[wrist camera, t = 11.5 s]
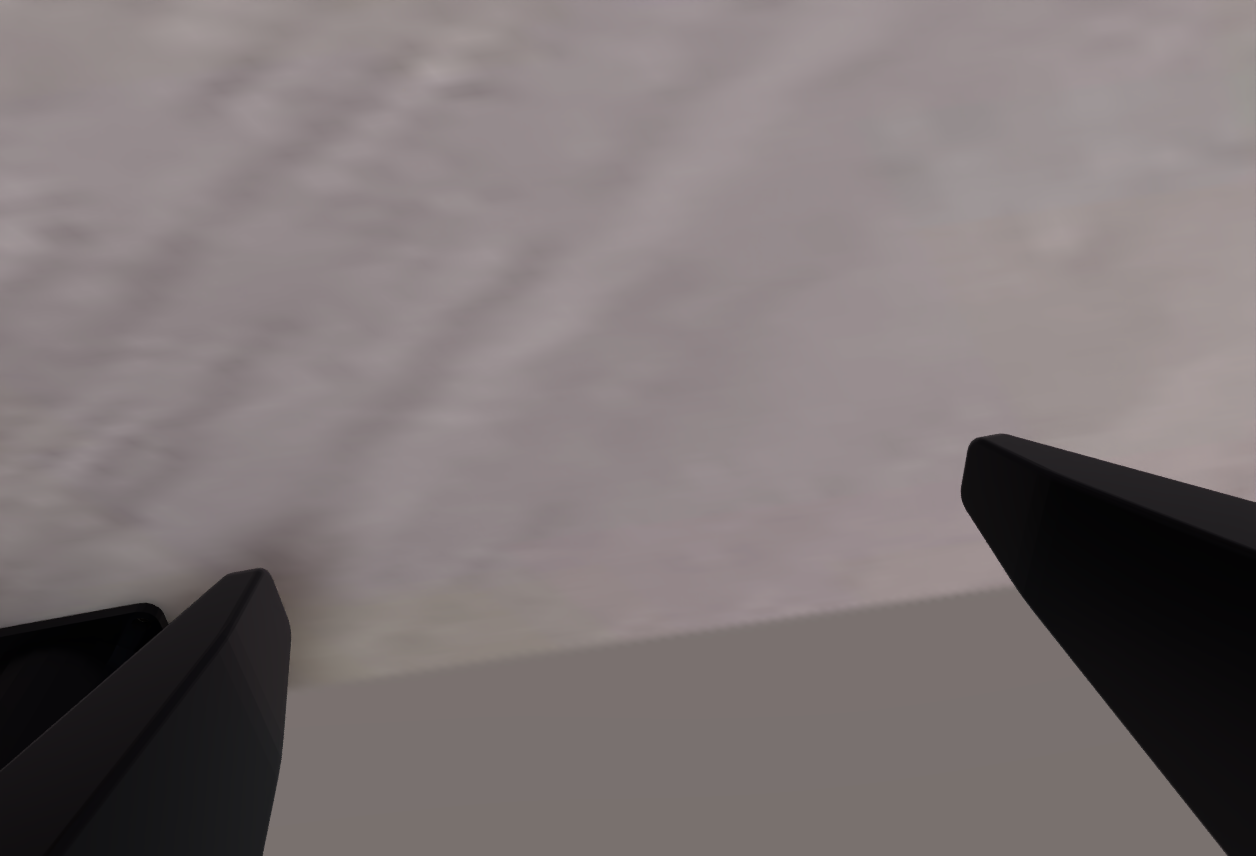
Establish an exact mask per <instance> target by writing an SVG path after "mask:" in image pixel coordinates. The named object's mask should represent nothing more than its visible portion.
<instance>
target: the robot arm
mask: <svg viewBox="0 0 1256 856" xmlns="http://www.w3.org/2000/svg"><path fill="white" fill-rule="evenodd" d="M961 498H962V502H963V505H964V507H965V509H966V511H967V512H968V514H969V515H970V517H971V518H972V520H973V522H974V523H975V525H976V526H977V528H978V529H979V531H980V533H981V534H982V536H983V537H984V539H985V540H986V542H987V543H988V545H989V547H990V548H991V550H992V551H993V553H994V554H995V556H996V557H997V559H998V561H999V562H1000V564H1001V565H1002V567H1003V568H1004V570H1005V572H1006V573H1007V575H1008V576H1009V578H1010V579H1011V581H1012V582H1013V584H1014V585H1015V587H1016V588H1017V590H1018V591H1019V593H1020V594H1021V595H1022V597H1023V598H1024V600H1025V601H1026V602H1027V604H1028V605H1029V606H1030V608H1031V609H1032V610H1033V612H1034V613H1035V614H1036V615H1037V617H1038V618H1039V619H1040V620H1041V622H1042V623H1043V624H1044V626H1045V627H1046V628H1047V629H1048V630H1049V631H1050V633H1051V634H1052V636H1053V637H1054V638H1055V639H1056V641H1057V642H1058V643H1059V644H1060V646H1061V647H1062V648H1063V649H1064V650H1065V652H1066V653H1067V654H1068V656H1069V657H1070V658H1071V659H1072V661H1073V662H1074V663H1075V664H1076V666H1077V667H1078V668H1079V670H1080V671H1081V672H1082V673H1083V675H1084V676H1085V677H1086V678H1087V680H1088V681H1089V682H1090V683H1091V685H1092V686H1093V687H1094V688H1095V690H1096V691H1097V692H1098V693H1099V694H1100V696H1101V697H1102V698H1103V700H1104V701H1105V702H1106V703H1107V705H1108V706H1109V707H1110V709H1111V710H1112V711H1113V712H1114V713H1115V715H1116V716H1117V717H1118V719H1119V720H1120V721H1121V722H1122V724H1123V725H1124V726H1125V727H1126V729H1127V730H1128V731H1129V732H1130V734H1131V735H1132V736H1133V737H1134V739H1135V740H1136V741H1137V742H1138V744H1139V745H1140V746H1141V748H1142V749H1143V750H1144V751H1145V753H1146V754H1147V755H1148V756H1149V757H1150V759H1151V760H1152V761H1153V762H1154V764H1155V765H1156V766H1157V768H1158V769H1159V770H1160V771H1161V773H1162V774H1163V775H1164V776H1165V778H1166V779H1167V780H1168V781H1169V783H1170V784H1171V785H1172V787H1173V788H1174V789H1175V790H1176V792H1177V793H1178V794H1179V795H1180V797H1181V798H1182V799H1183V800H1184V802H1185V803H1186V804H1187V805H1188V807H1189V808H1190V809H1191V810H1192V812H1193V813H1194V814H1195V815H1196V817H1197V818H1198V819H1199V820H1200V822H1201V823H1202V824H1203V826H1204V827H1205V828H1206V829H1207V831H1208V832H1209V833H1210V834H1211V836H1212V837H1213V838H1214V839H1215V840H1216V842H1217V843H1218V844H1219V846H1220V847H1221V848H1222V849H1223V851H1224V852H1225V853H1226V854H1227V856H1256V502H1253V501H1249V500H1245V499H1242V498H1238V497H1234V496H1231V495H1227V494H1223V493H1220V492H1216V491H1212V490H1209V489H1205V488H1202V487H1198V486H1194V485H1191V484H1187V483H1183V482H1180V481H1176V480H1172V479H1169V478H1165V477H1161V476H1158V475H1154V474H1150V473H1147V472H1143V471H1139V470H1136V469H1132V468H1128V467H1125V466H1121V465H1118V464H1114V463H1110V462H1107V461H1103V460H1099V459H1096V458H1092V457H1088V456H1085V455H1081V454H1077V453H1074V452H1070V451H1066V450H1063V449H1059V448H1055V447H1052V446H1048V445H1044V444H1041V443H1037V442H1033V441H1030V440H1026V439H1023V438H1019V437H1015V436H1012V435H1008V434H995V435H989V436H984V437H979V438H976V439H974V440H973V441H972V442H971V443H970V445H969V447H968V450H967V456H966V462H965V468H964V473H963V479H962V485H961ZM137 618H144V619H147V620H148V621H149V622H142V621H139V620H138V619H137ZM290 647H291V630H290V624H289V620H288V617H287V615H286V612H285V610H284V607H283V604H282V602H281V599H280V597H279V594H278V591H277V589H276V586H275V584H274V581H273V579H272V576H271V575H270V573H269V572H268V571H267V570H265V569H263V568H256V569H251V570H245V571H239V572H234V573H230V574H227V575H226V576H224V577H223V578H222V579H221V580H220V581H218V582H217V583H216V584H215V585H214V586H213V587H211V588H210V589H209V590H208V591H207V592H206V593H205V594H203V595H202V596H201V597H200V598H199V599H198V600H196V601H195V602H194V603H193V604H192V605H191V606H190V607H188V608H187V609H186V610H185V611H184V612H183V613H181V614H180V615H179V616H178V617H177V618H176V619H175V620H173V621H172V622H171V623H170V624H168V622H167V620H166V617H165V615H164V613H163V612H162V610H161V609H160V608H159V607H157V606H155V605H153V604H149V603H139V604H133V605H128V606H122V607H117V608H111V609H106V610H100V611H95V612H90V613H84V614H79V615H73V616H68V617H62V618H57V619H51V620H46V621H40V622H35V623H29V624H24V625H18V626H13V627H8V628H2V629H0V856H263V851H264V845H265V841H266V836H267V831H268V826H269V821H270V816H271V811H272V806H273V801H274V796H275V791H276V786H277V781H278V776H279V770H280V764H281V758H282V749H283V748H282V747H283V738H284V726H285V713H286V699H287V687H288V673H289V660H290Z"/></svg>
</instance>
